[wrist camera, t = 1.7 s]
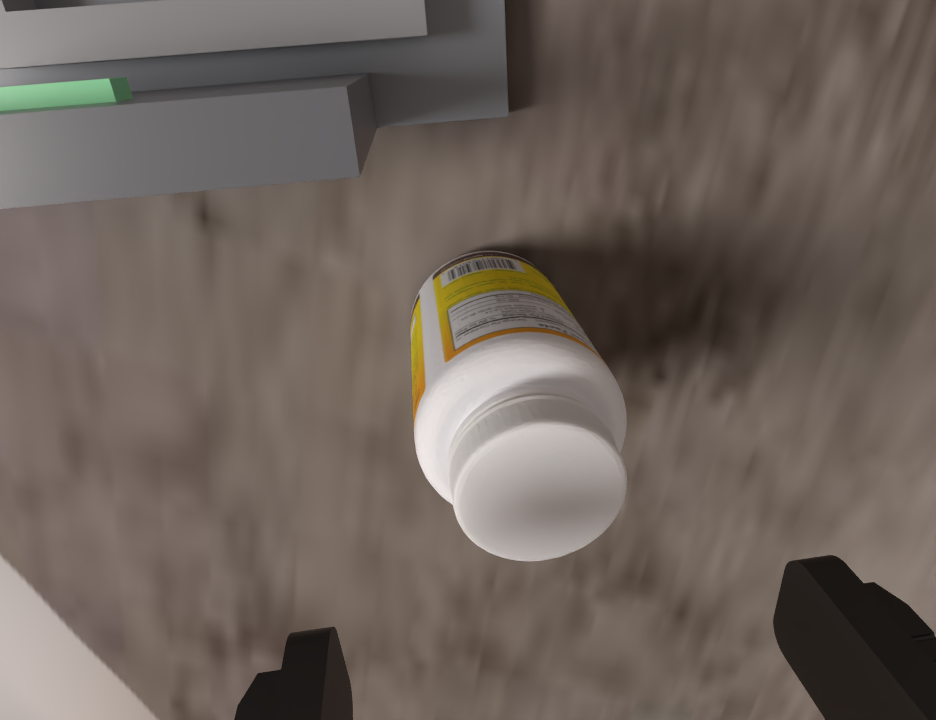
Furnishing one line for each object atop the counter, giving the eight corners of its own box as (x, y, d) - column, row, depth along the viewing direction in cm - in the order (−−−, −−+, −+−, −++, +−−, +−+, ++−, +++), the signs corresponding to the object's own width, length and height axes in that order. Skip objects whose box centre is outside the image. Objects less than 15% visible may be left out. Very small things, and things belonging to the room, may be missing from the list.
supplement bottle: (485, 407, 24) (535, 621, 15) (378, 323, 22) (361, 514, 13) (588, 311, 23) (712, 484, 14) (484, 211, 20) (548, 338, 11)
